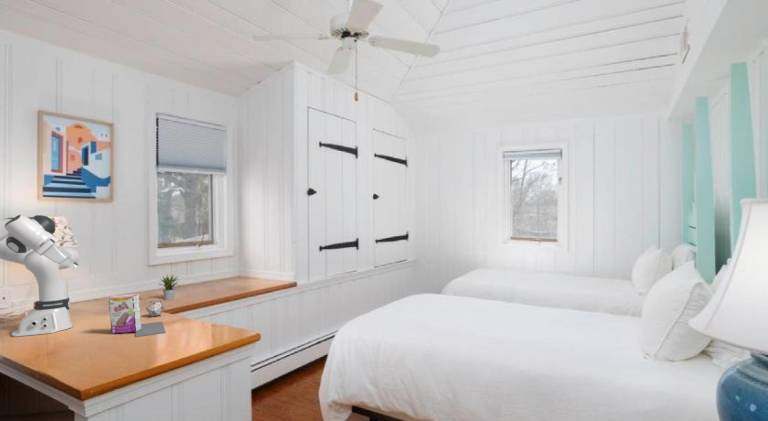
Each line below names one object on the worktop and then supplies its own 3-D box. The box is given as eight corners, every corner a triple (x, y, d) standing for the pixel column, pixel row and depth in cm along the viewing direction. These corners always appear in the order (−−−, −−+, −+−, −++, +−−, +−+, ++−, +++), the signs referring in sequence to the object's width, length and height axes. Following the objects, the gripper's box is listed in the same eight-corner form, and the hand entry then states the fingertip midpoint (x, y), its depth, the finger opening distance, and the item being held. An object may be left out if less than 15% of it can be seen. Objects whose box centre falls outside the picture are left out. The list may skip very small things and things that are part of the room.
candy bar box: (110, 334, 192) (107, 298, 192) (117, 331, 197) (114, 295, 197) (136, 332, 193) (133, 295, 192) (142, 329, 198) (139, 293, 197)
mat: (135, 337, 186) (135, 336, 186) (135, 325, 207) (135, 324, 207) (165, 332, 192) (165, 331, 192) (162, 322, 213) (162, 321, 213)
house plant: (181, 300, 272) (180, 274, 273) (156, 302, 267) (156, 276, 267) (182, 296, 286) (182, 271, 286) (159, 298, 280) (158, 273, 281)
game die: (156, 324, 226) (154, 311, 220) (143, 318, 227) (140, 305, 222) (169, 312, 233) (167, 299, 227) (156, 306, 234) (153, 293, 229)
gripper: (44, 249, 189) (72, 270, 194) (35, 252, 171) (66, 274, 176) (57, 239, 191) (84, 259, 196) (49, 240, 174) (79, 263, 179)
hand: (75, 266), depth 186 cm, fingers open, 7 cm apart
